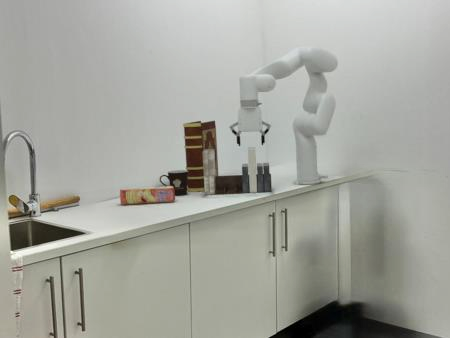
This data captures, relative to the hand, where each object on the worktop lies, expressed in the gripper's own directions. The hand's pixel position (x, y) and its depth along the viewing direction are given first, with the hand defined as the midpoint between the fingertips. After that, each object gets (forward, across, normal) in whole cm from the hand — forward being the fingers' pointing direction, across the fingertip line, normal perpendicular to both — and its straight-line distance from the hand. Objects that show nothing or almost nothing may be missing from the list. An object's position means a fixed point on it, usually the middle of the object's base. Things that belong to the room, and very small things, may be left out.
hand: (250, 145), depth 261 cm
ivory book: (+19, 0, 0) cm, 19 cm away
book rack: (+20, +6, -1) cm, 21 cm away
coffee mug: (+21, +33, -6) cm, 39 cm away
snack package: (+21, +42, +12) cm, 48 cm away
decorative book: (+21, +23, -22) cm, 38 cm away
